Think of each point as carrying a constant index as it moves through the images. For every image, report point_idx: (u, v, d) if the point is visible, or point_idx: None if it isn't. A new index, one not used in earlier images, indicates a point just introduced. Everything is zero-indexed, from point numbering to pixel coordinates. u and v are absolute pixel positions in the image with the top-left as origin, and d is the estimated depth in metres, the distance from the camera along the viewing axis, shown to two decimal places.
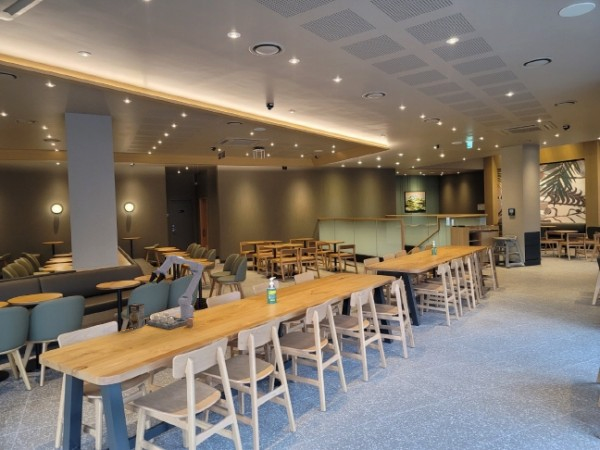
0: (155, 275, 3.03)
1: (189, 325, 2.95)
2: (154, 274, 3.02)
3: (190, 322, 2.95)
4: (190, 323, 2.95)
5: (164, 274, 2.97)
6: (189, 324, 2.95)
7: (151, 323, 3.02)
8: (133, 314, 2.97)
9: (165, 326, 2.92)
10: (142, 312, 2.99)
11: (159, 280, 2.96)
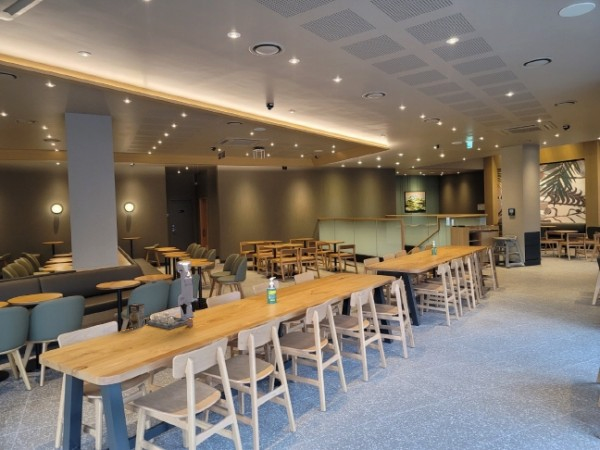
0: None
1: (189, 325, 2.95)
2: None
3: (190, 322, 2.95)
4: (190, 323, 2.95)
5: (196, 301, 3.01)
6: (189, 324, 2.95)
7: (151, 323, 3.02)
8: (133, 314, 2.97)
9: (165, 326, 2.92)
10: (142, 312, 2.99)
11: None
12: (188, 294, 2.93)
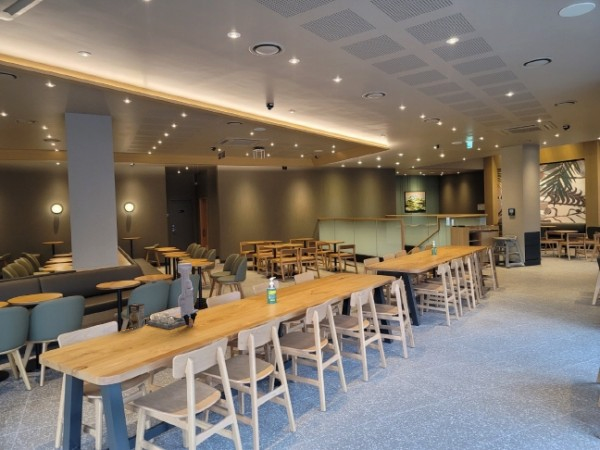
0: None
1: (189, 325, 2.95)
2: None
3: (190, 322, 2.95)
4: (190, 323, 2.95)
5: None
6: (189, 324, 2.95)
7: (151, 323, 3.02)
8: (133, 314, 2.97)
9: (165, 326, 2.92)
10: (142, 312, 2.99)
11: None
12: (189, 305, 2.94)
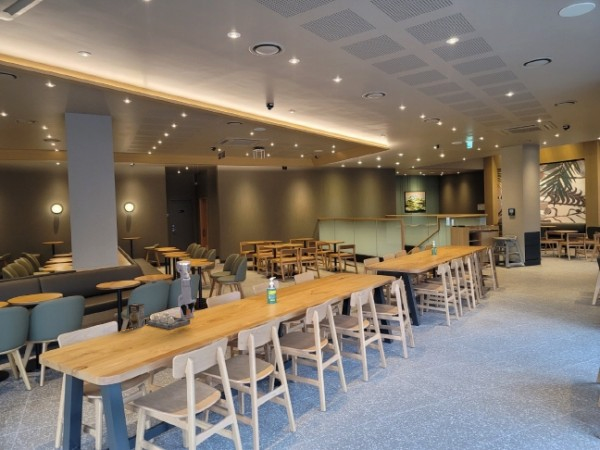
0: None
1: (187, 315, 2.96)
2: None
3: (188, 312, 2.96)
4: (188, 313, 2.96)
5: (194, 302, 3.03)
6: (187, 314, 2.96)
7: (151, 323, 3.02)
8: (133, 314, 2.97)
9: (165, 326, 2.92)
10: (142, 312, 2.99)
11: None
12: (186, 296, 2.95)
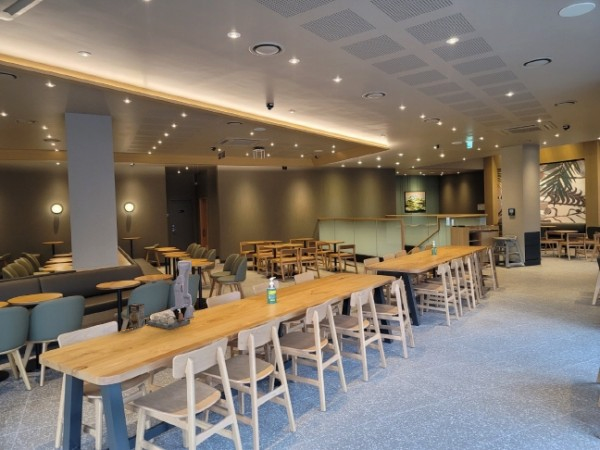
0: None
1: (179, 319, 3.01)
2: None
3: (180, 316, 3.01)
4: (180, 317, 3.01)
5: (187, 307, 3.08)
6: (179, 318, 3.01)
7: (151, 323, 3.02)
8: (133, 314, 2.97)
9: (165, 326, 2.92)
10: (142, 312, 2.99)
11: None
12: (177, 300, 3.00)
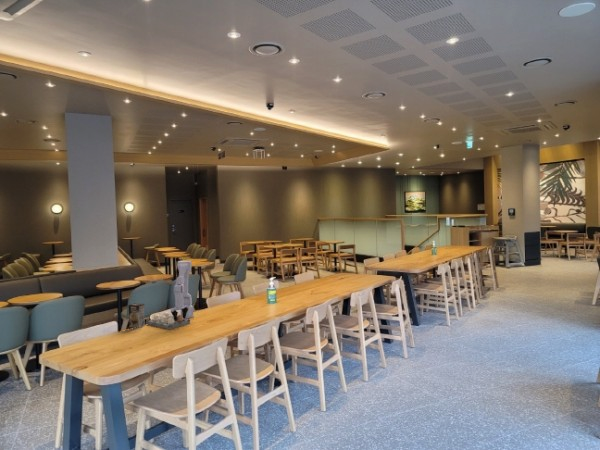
0: None
1: (179, 321, 3.01)
2: None
3: (180, 318, 3.01)
4: (180, 319, 3.01)
5: None
6: (179, 320, 3.01)
7: (151, 323, 3.02)
8: (133, 314, 2.97)
9: (165, 326, 2.92)
10: (142, 312, 2.99)
11: None
12: (177, 301, 3.00)
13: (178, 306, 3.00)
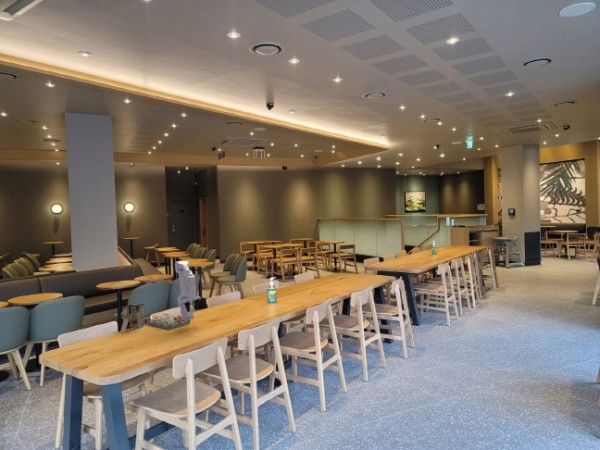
0: None
1: (179, 321, 3.01)
2: None
3: (180, 318, 3.01)
4: (180, 319, 3.01)
5: None
6: (179, 320, 3.01)
7: (151, 323, 3.02)
8: (133, 314, 2.97)
9: (165, 326, 2.92)
10: (142, 312, 2.99)
11: None
12: (192, 292, 3.01)
13: (191, 297, 3.01)
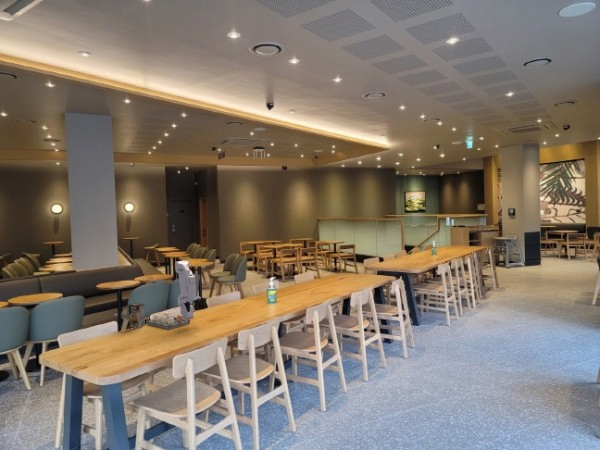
0: None
1: (179, 321, 3.01)
2: None
3: (180, 318, 3.01)
4: (180, 319, 3.01)
5: None
6: (179, 320, 3.01)
7: (151, 323, 3.02)
8: (133, 314, 2.97)
9: (165, 326, 2.92)
10: (142, 312, 2.99)
11: None
12: (192, 292, 3.01)
13: (191, 297, 3.01)
